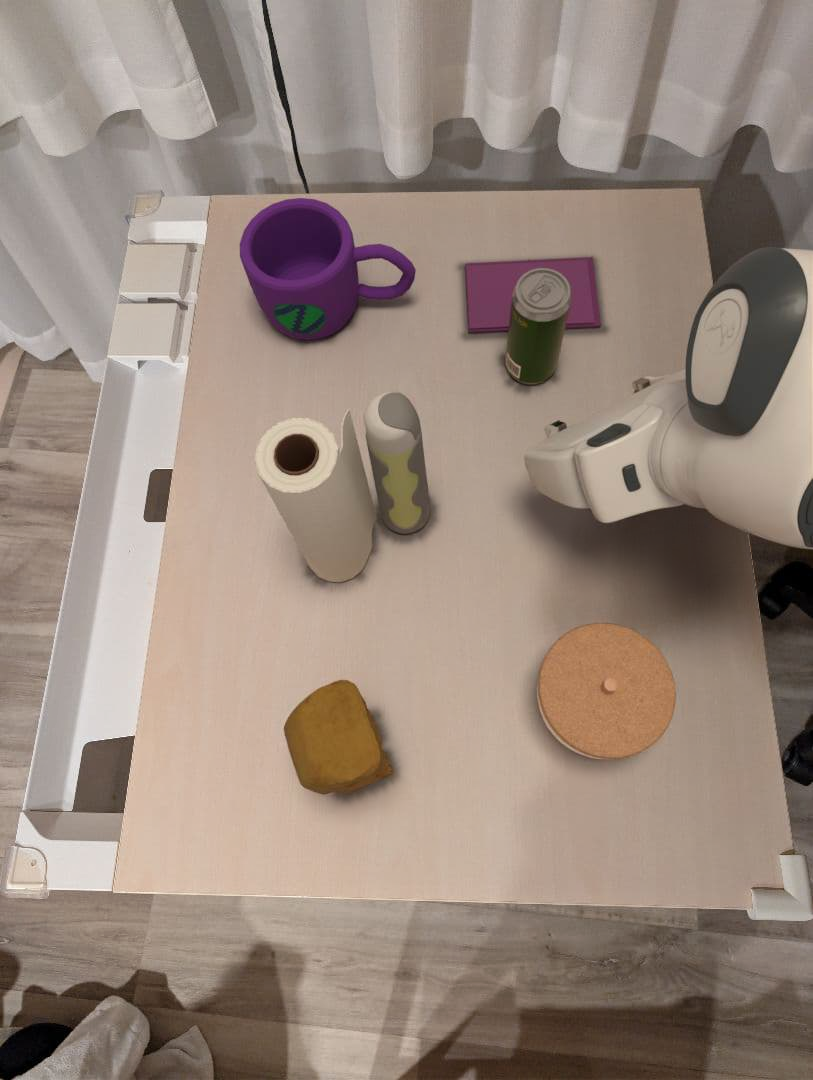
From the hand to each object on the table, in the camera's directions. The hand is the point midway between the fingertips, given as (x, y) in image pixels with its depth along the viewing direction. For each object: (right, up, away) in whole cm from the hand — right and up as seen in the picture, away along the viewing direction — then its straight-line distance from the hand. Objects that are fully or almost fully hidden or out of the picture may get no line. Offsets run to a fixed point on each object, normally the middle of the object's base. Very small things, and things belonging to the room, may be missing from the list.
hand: (596, 408), depth 71 cm
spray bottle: (-18, -9, +4) cm, 21 cm away
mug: (-25, +14, +14) cm, 32 cm away
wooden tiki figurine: (-22, -31, -3) cm, 39 cm away
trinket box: (-1, -27, -3) cm, 27 cm away
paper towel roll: (-24, -13, +3) cm, 27 cm away
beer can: (-5, +6, +9) cm, 12 cm away
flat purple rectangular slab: (-4, +14, +12) cm, 19 cm away
